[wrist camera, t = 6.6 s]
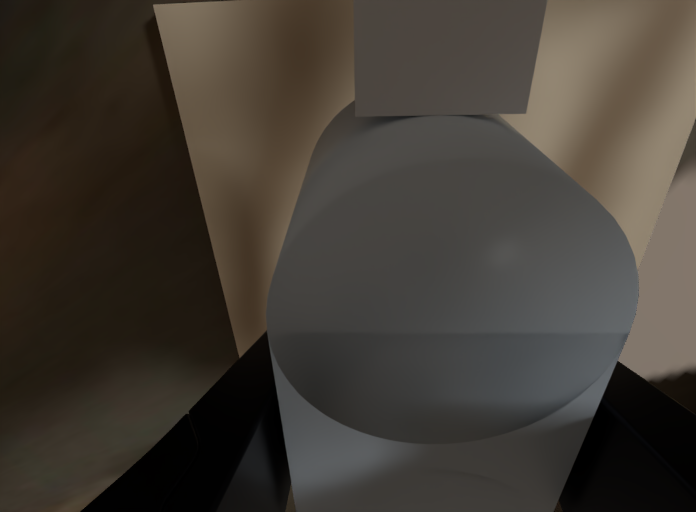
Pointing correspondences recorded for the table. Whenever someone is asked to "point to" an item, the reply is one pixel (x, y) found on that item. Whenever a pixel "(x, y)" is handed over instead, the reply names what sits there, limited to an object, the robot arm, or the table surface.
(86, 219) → the table surface
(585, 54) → the birch board
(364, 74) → the usb stick
